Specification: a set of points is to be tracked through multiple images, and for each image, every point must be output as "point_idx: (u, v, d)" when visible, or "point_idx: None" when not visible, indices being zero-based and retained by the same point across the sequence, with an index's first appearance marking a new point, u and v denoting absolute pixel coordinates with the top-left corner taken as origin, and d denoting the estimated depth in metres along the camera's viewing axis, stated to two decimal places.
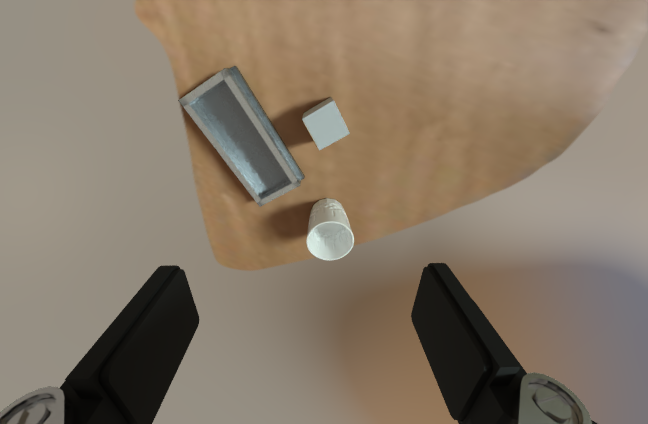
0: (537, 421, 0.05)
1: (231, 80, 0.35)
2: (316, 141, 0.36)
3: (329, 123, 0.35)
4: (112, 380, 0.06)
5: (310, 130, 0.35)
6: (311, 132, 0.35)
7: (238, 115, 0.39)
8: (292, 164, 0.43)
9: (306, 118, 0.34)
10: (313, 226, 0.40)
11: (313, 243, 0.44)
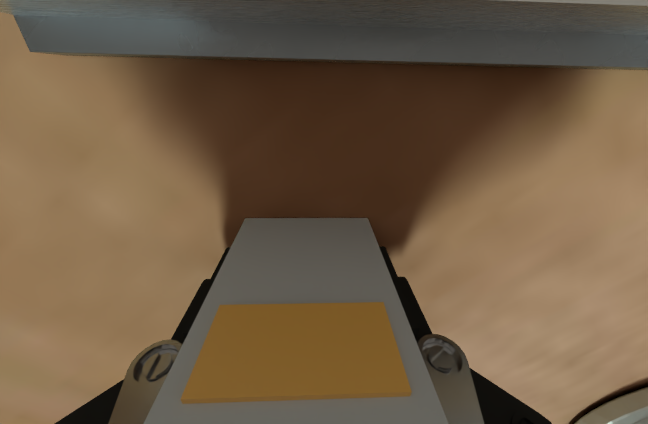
0: (433, 380, 0.06)
1: None
2: None
3: None
4: None
5: None
6: None
7: None
8: (152, 30, 0.06)
9: None
10: None
11: None
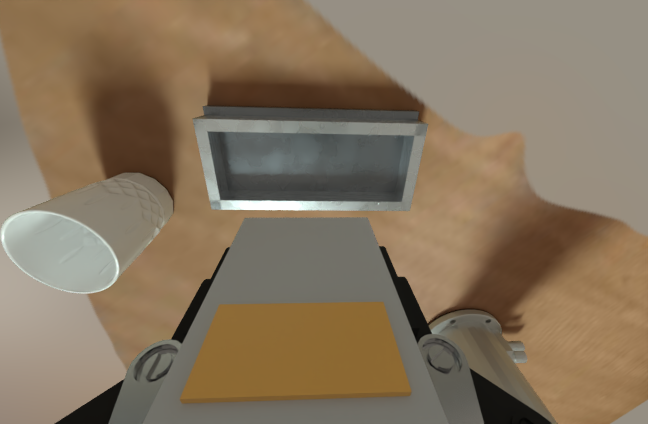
0: (433, 380, 0.06)
1: (393, 209, 0.25)
2: None
3: None
4: None
5: None
6: None
7: (353, 174, 0.26)
8: None
9: None
10: (112, 241, 0.19)
11: None
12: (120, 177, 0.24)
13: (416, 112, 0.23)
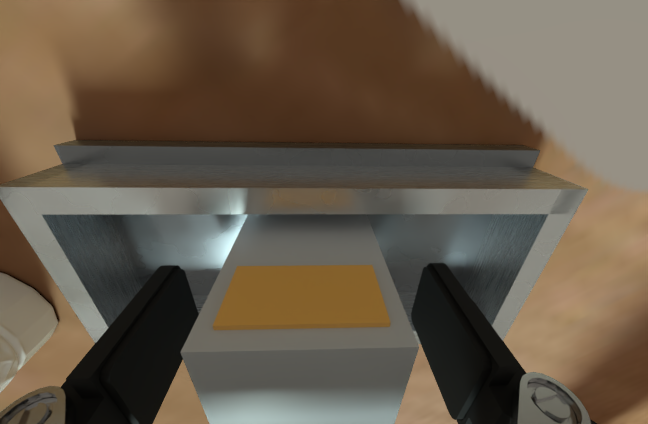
0: (536, 421, 0.05)
1: None
2: (248, 358, 0.05)
3: (312, 420, 0.07)
4: (113, 379, 0.06)
5: (330, 356, 0.05)
6: (316, 356, 0.05)
7: (388, 265, 0.13)
8: None
9: (404, 363, 0.06)
10: None
11: None
12: None
13: (534, 152, 0.11)
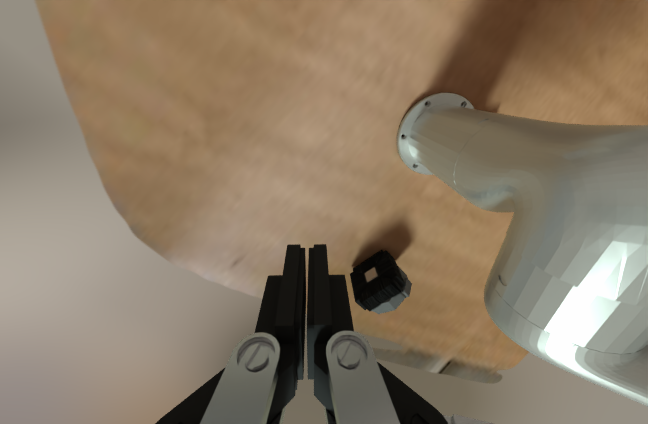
0: (345, 382, 0.06)
1: None
2: None
3: None
4: (298, 330, 0.07)
5: None
6: None
7: None
8: None
9: None
10: None
11: None
12: None
13: None
